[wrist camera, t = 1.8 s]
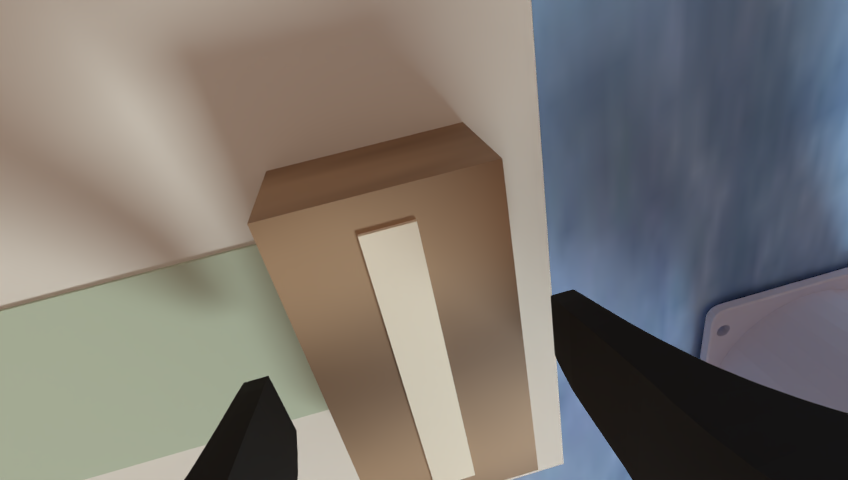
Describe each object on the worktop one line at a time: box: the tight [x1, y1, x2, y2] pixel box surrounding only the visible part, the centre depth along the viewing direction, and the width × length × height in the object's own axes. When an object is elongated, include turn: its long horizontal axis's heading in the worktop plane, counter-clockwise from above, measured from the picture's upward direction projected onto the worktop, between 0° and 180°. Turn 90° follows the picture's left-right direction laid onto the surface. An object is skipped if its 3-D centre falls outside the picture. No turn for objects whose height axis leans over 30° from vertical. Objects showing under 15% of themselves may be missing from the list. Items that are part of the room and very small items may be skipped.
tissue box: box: [247, 122, 538, 480], centre depth 12 cm, size 10×5×3 cm, turn 11°
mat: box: [0, 0, 564, 480], centre depth 14 cm, size 20×20×1 cm
